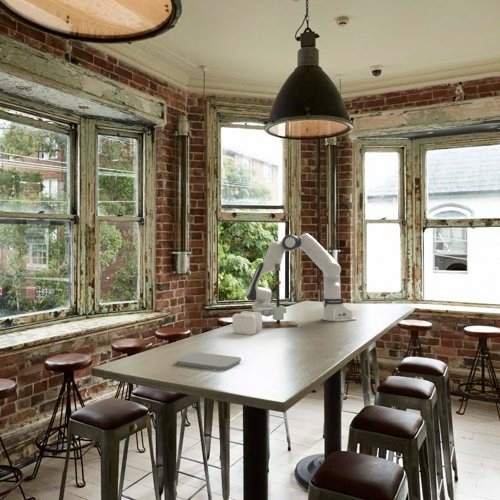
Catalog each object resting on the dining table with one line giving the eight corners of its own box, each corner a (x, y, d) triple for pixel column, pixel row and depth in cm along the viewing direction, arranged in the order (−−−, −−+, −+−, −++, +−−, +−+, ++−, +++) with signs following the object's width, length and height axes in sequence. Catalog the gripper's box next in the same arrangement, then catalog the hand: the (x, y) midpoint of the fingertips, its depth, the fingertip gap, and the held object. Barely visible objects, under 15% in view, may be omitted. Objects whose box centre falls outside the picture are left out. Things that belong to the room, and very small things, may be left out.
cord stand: (292, 323, 291) (292, 262, 290) (298, 326, 278) (297, 263, 277) (259, 324, 288) (258, 263, 287) (262, 328, 275) (261, 264, 274)
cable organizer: (263, 332, 262) (263, 312, 262) (253, 336, 253) (253, 315, 253) (241, 330, 270) (241, 310, 270) (231, 333, 261) (231, 313, 261)
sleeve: (279, 318, 286) (279, 305, 286) (283, 319, 281) (283, 306, 281) (272, 319, 284) (272, 306, 284) (276, 320, 279) (276, 307, 279)
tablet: (225, 372, 185) (224, 367, 185) (173, 365, 197) (173, 360, 197) (243, 362, 200) (243, 357, 200) (194, 356, 212) (194, 351, 212)
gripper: (252, 305, 294) (261, 308, 281) (280, 303, 302) (290, 306, 289) (252, 315, 294) (261, 318, 281) (280, 313, 302) (290, 316, 289)
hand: (276, 312), depth 285 cm, fingers open, 8 cm apart
